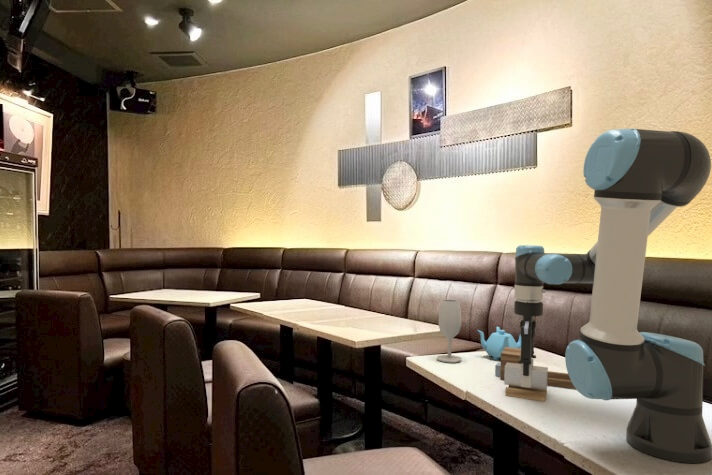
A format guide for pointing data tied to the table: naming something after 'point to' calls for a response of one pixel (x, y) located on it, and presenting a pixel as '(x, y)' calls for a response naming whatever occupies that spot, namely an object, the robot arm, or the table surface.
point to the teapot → (498, 343)
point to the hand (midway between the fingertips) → (526, 384)
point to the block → (537, 378)
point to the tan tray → (526, 393)
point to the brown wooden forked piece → (553, 377)
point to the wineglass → (449, 326)
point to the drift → (497, 369)
